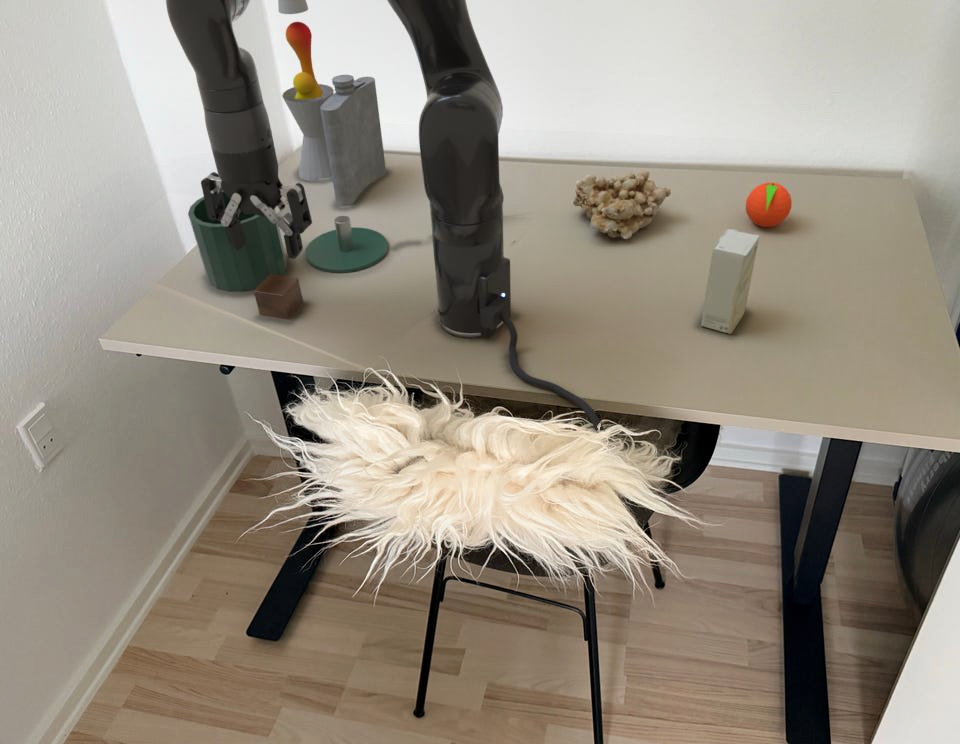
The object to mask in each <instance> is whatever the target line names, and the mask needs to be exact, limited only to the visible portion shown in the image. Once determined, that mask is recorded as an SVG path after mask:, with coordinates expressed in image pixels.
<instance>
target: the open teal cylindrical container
mask: <svg viewBox="0 0 960 744" xmlns="http://www.w3.org/2000/svg"><path fill="white" fill-rule="evenodd" d="M222 194H223V199H224V204H225V209H226V208H227V206H228V204H229V202H230V200H231V199H230V198H229V197H228V196H227V195H226V193H225V192H224V191H223V190H222ZM274 211H275V212H276V208H275V209H274ZM276 213H277V212H276ZM187 216H188V219H189V222H190V225H191V228H192V232H193V235H194V239H195V242H196V246H197V248H198V253H199V255H200V258H201V262H202V266H203V268H204V271H205V275H206V278H207V280H208V283H209V285H211V286H212V287H214V288H216V289H217V290H220V291H224V292H228V293H229V292H231V293H235V292H236V293H238V292H239V293H241V292H242V293H243V292H250V291H254V290H255V289H256V288H257V287H258V286H259V285H260V284H261V283H262V282H263V281H264V280H265V279H266V278H267V276H268V275H269V274H273V275H280V276H284V274H285V273H286V271H287V266H288V260H287V256H286V251H285V247H284V243H283V238H282V234H281V229H280V227H279V226H278V225H277V224H273V223H272V222H271V221H270V220H269V219H268V218H267V217H266V216H265V217H264V216H259V215H256V214H244V213H243V211H241V213H240V214H239V216H238V218H237V220H240V222H241V226H242V230H243V234H244V238H245V245H244V246H243V247H242V248H241V249H240V250H233V248H232V246H231V245H230V244H229V242H228V238H227V234H226V230H225V227H224V226H223V225H222V224H221V222H220V221H218V220H215V221H212V220H210V219H209V217H208V214H207V209H206V204H205V200H204V196H202V197H200V198H198V199H197V200H196V201H194V203H192V204H191V205H190V206H189V209H188V212H187Z"/></svg>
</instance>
